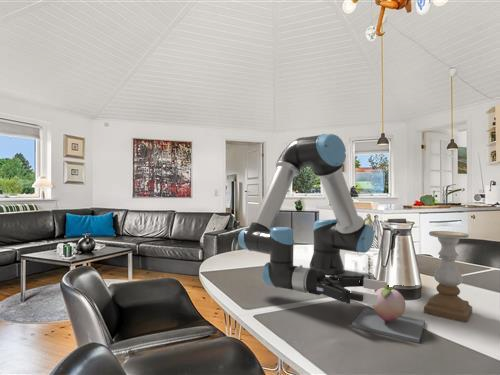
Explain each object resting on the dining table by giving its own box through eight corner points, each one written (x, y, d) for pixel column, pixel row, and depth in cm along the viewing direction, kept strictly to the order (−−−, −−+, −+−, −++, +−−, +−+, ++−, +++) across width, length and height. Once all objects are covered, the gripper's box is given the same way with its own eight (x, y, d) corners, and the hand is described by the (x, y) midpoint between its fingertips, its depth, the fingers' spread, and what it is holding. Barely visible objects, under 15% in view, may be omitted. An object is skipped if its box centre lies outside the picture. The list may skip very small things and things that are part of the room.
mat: (351, 326, 86) (351, 323, 86) (364, 310, 98) (364, 308, 98) (418, 343, 77) (418, 339, 77) (424, 323, 89) (424, 320, 89)
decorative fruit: (406, 331, 82) (407, 292, 82) (371, 325, 85) (372, 287, 85) (403, 318, 91) (404, 282, 91) (372, 313, 94) (373, 278, 94)
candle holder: (472, 312, 98) (473, 233, 98) (466, 323, 89) (467, 236, 90) (432, 303, 105) (432, 229, 105) (422, 312, 97) (423, 232, 97)
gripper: (292, 277, 90) (372, 290, 78) (323, 261, 111) (390, 269, 99) (292, 304, 90) (372, 321, 78) (323, 283, 111) (390, 294, 99)
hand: (382, 292), depth 89 cm, fingers open, 13 cm apart
